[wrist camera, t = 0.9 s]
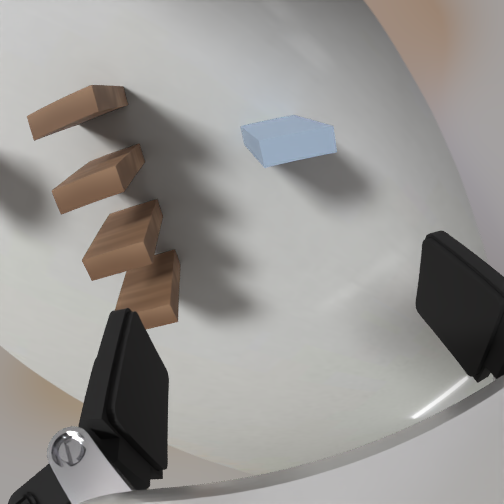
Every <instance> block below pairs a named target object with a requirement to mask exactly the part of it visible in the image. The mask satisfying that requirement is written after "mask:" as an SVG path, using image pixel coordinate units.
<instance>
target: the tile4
mask: <svg viewBox="0 0 504 504" xmlns="http://www.w3.org/2000/svg"><path fill="white" fill-rule="evenodd" d="M162 218H163V215H162V212H161V209H160V206H159V203H158V200H157V199H155V200H152V201H149V202H146V203H142V204H139V205H136V206H133V207H130V208H127V209H124V210H121V211H118V212H115V213H112V214H109V216H108V217H107V219H106V221H105V222H104V224H103V225H102V227H101V229H100V230H99V232H98V234H97V235H96V237H95V239H94V240H93V242H92V244H91V245H90V247H89V249H88V251H87V252H86V254H85V256H84V258H83V259H82V262H83V264H84V266H85V268H86V270H87V272H88V274H89V276H90V278H91V280H92V281H93V280H97V279H100V278H104V277H107V276H111V275H114V274H118V273H121V272H125V271H128V270H132V269H135V268H139V267H143V266H146V265H150V264H152V263H153V258H154V253H155V249H156V244H157V240H158V235H159V231H160V227H161V222H162Z"/></svg>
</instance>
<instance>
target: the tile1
mask: <svg viewBox="0 0 504 504" xmlns="http://www.w3.org/2000/svg"><path fill="white" fill-rule="evenodd" d="M240 127H241V131H242V135H243V140H244V144H245V146H246V147H247V148H248V149H249V151H250V152H251V153H252V154H253V155H254V156H255V157H256V159H257V160H258V161H259V162H260V163H261V164H262V165H263V167H264V168H266V167H270V166H275V165H279V164H283V163H288V162H292V161H297V160H301V159H306V158H311V157H315V156H320V155H325V154H330V153H335V152H337V148H336V141H335V134H334V127H333V126H331V125H328V124H324V123H321V122H318V121H314V120H311V119H307V118H303V117H300V116H296V115H292V116H287V117H281V118H276V119H271V120H267V121H262V122H257V123H253V124H248V125H244V126H240Z"/></svg>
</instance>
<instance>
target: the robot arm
mask: <svg viewBox="0 0 504 504" xmlns="http://www.w3.org/2000/svg"><path fill="white" fill-rule="evenodd" d="M416 309H417V312H418V313H419V314H420V316H421V317H422V318H423V319H424V320H425V322H426V323H427V324H428V325H429V326H430V328H431V329H432V330H433V331H434V332H435V334H436V335H437V336H438V337H439V339H440V340H441V341H442V342H443V343H444V345H445V346H446V347H447V348H448V350H449V351H450V352H451V354H452V355H453V356H454V357H455V359H456V360H457V361H458V362H459V364H460V365H461V366H462V368H463V369H464V370H465V372H466V373H467V374H468V375H469V376H473V377H474V379H475V380H476V381H477V383H478V382H480V381H481V380H483V379H485V378H486V377H488V376H489V374H490V372H491V373H492V374H493V376H494V377H493V382H492V383H490V384H489V385H487V386H485V387H484V388H482V389H480V390H479V391H477V392H475V393H474V394H472V395H470V396H468V397H467V398H465V399H463V400H461V401H460V402H458V403H456V404H454V405H452V406H450V407H448V408H447V409H445V410H443V411H441V412H439V413H437V414H435V415H433V416H431V417H429V418H427V419H425V420H423V421H420V422H418V423H416V424H414V425H412V426H410V427H407V428H405V429H403V430H401V431H398V432H396V433H394V434H391V435H389V436H386V437H384V438H381V439H379V440H376V441H374V442H371V443H368V444H366V445H363V446H360V447H357V448H355V449H352V450H349V451H346V452H343V453H340V454H337V455H334V456H330V457H327V458H324V459H321V460H317V461H314V462H310V463H307V464H303V465H299V466H296V467H292V468H288V469H283V470H279V471H275V472H270V473H266V474H261V475H256V476H251V477H245V478H240V479H234V480H228V481H221V482H215V483H208V484H200V485H192V486H183V487H171V488H160V489H149V488H148V487H149V486H150V479H163V470H165V469H167V464H168V463H167V462H168V461H167V460H168V458H167V435H168V389H169V377H168V372H167V370H166V368H165V366H164V364H163V362H162V360H161V358H160V357H159V355H158V353H157V351H156V349H155V347H154V345H153V343H152V341H151V339H150V337H149V335H148V333H147V331H146V329H145V327H144V325H143V323H142V321H141V319H140V317H139V315H138V313H137V312H136V311H134V312H132V311H131V310H130V309H129V308H125V309H120V310H115V311H112V312H111V313H110V315H109V318H108V322H107V325H106V328H105V331H104V335H103V338H102V341H101V345H100V348H99V352H98V355H97V358H96V359H95V362H94V365H93V369H92V372H91V376H90V380H89V384H88V388H87V392H86V396H85V400H84V404H83V408H82V413H81V417H80V422H79V427H72V426H71V427H67V428H64V429H62V430H60V431H58V433H56V434H55V435H54V436H53V438H52V439H51V441H50V442H49V445H48V449H47V458H48V461H49V464H48V465H47V466H46V467H44V468H43V469H42V470H41V471H40V472H38V473H37V474H36V475H35V476H34V477H32V478H31V479H30V480H29V481H27V482H26V483H25V484H24V485H23V486H21V487H20V488H19V489H18V490H17V491H16V492H14V493H13V495H12V496H11V498H10V499H9V502H8V504H504V277H503V276H502V275H500V273H498V272H497V271H496V270H494V269H493V268H492V267H491V266H490V265H488V264H487V263H486V262H485V261H483V260H482V259H481V258H479V257H478V256H477V255H476V254H474V253H473V252H472V251H470V250H469V249H468V248H466V247H465V246H464V245H462V244H461V243H460V242H458V241H457V240H455V239H454V238H453V237H451V236H450V235H449V234H447V233H446V232H444V231H437V232H434V233H430V234H428V235H427V236H426V238H425V240H424V241H423V244H422V254H421V264H420V273H419V282H418V289H417V297H416Z"/></svg>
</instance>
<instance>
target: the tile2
mask: <svg viewBox="0 0 504 504" xmlns="http://www.w3.org/2000/svg"><path fill="white" fill-rule="evenodd" d="M127 105H128V102H127V98H126V95H125V91H124V87H123V86H105V85H90V86H88V87H86V88H83V89H81V90H79V91H77V92H74V93H72V94H70V95H68V96H66V97H64V98H62V99H59V100H57V101H55V102H53V103H51V104H49V105H47V106H45V107H43V108H41V109H40V110H38V111H36V112H34V113H32V114H30V115H28V116H27V118H28V122H29V125H30V129H31V132H32V135H33V139H34V141H35V140H37V139H40V138H42V137H45V136H48V135H50V134H53V133H56V132H59V131H61V130H64V129H67V128H70V127H73V126H76V125H79V124H81V123H83V122H86V121H88V120H91V119H93V118H95V117H98V116H100V115H103V114H106V113H108V112H111V111H113V110H116V109H119V108H121V107H124V106H127Z"/></svg>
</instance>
